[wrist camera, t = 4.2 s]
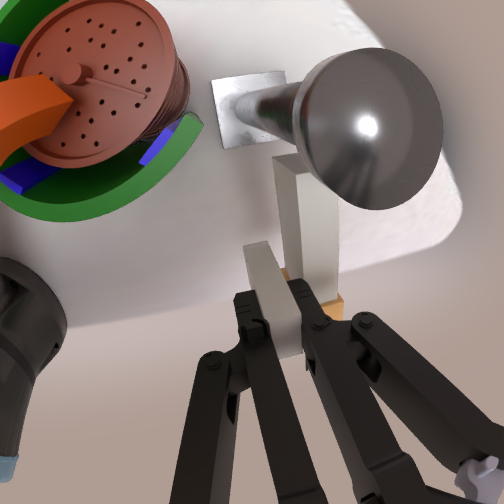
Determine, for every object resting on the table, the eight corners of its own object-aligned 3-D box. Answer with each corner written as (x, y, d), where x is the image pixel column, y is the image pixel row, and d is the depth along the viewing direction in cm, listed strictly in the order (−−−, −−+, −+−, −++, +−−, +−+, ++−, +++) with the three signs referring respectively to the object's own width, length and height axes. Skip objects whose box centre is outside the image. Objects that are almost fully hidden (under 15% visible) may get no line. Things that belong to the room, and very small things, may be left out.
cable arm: (308, 150, 15) (346, 168, 12) (316, 288, 21) (341, 330, 17) (265, 156, 15) (291, 177, 11) (283, 297, 21) (303, 342, 17)
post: (223, 147, 23) (288, 258, 7) (210, 81, 20) (254, 13, 4) (290, 136, 23) (450, 217, 8) (281, 72, 20) (451, 40, 5)
